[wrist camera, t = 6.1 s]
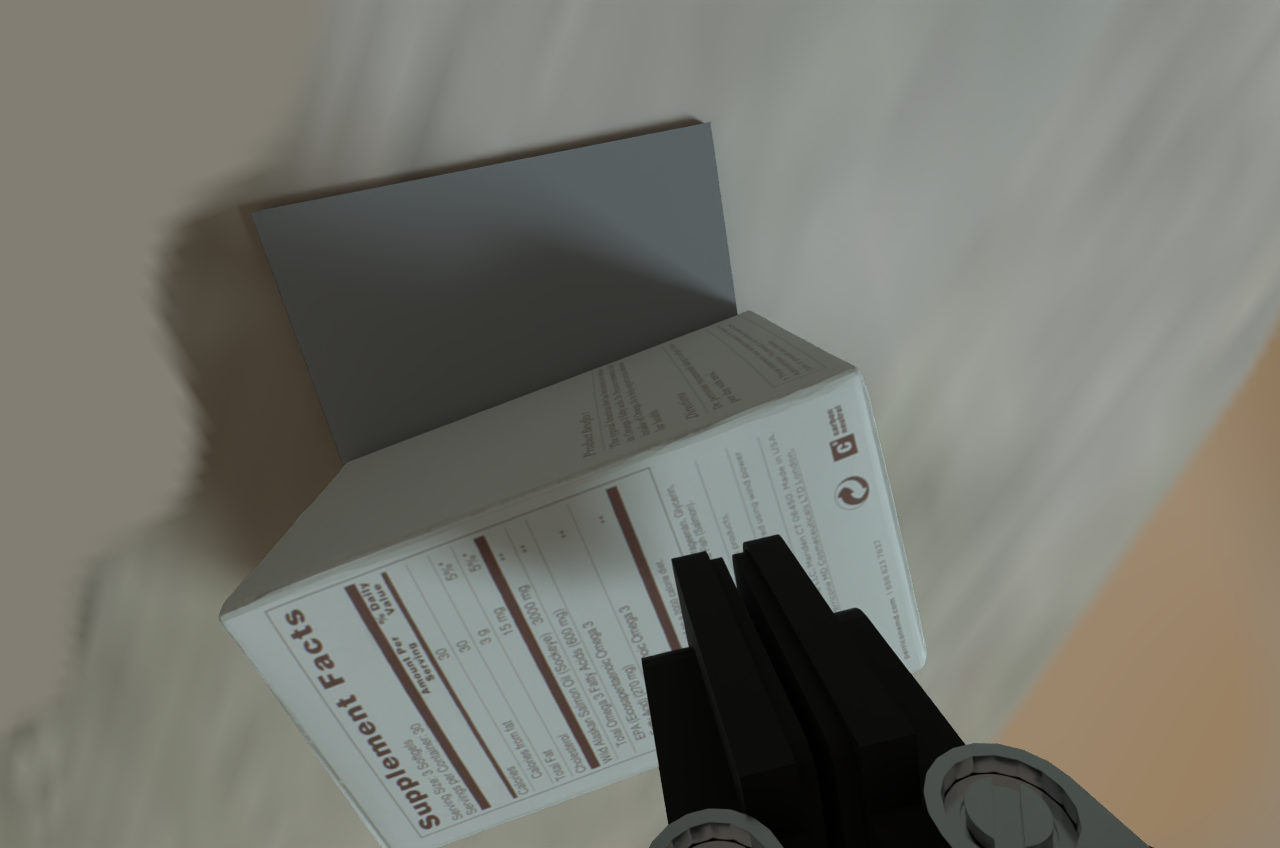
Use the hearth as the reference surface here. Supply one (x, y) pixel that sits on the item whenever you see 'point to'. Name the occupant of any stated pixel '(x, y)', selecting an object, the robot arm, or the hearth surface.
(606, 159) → the mat
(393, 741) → the supplement box
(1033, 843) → the robot arm
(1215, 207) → the hearth surface
